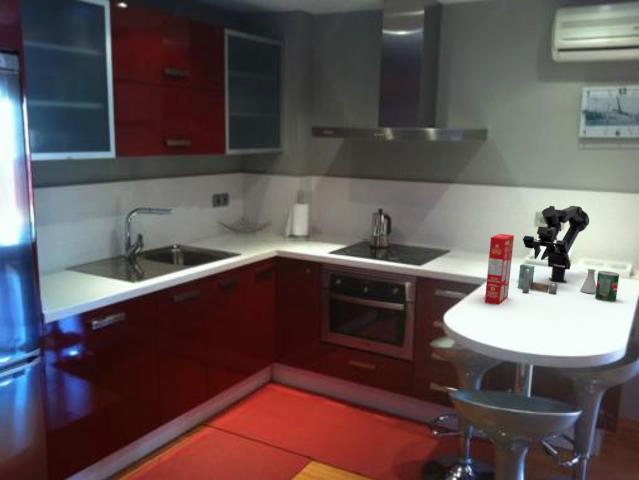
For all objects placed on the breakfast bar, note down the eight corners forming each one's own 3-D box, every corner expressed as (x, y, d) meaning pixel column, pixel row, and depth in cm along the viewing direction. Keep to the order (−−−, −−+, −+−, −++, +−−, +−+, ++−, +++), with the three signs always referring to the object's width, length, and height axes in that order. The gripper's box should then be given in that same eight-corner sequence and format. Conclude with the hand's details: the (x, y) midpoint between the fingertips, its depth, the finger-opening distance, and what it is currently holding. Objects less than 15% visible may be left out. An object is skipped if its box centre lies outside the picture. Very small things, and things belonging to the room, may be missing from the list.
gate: (548, 291, 252) (551, 268, 251) (546, 292, 249) (549, 269, 248) (520, 286, 259) (522, 264, 258) (517, 287, 256) (520, 265, 255)
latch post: (522, 292, 249) (524, 268, 248) (528, 292, 249) (530, 269, 247) (523, 293, 247) (525, 269, 245) (529, 293, 246) (531, 270, 245)
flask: (594, 291, 259) (597, 268, 258) (600, 294, 252) (603, 271, 251) (577, 289, 260) (580, 267, 259) (583, 293, 253) (585, 270, 251)
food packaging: (494, 295, 240) (500, 233, 237) (507, 297, 238) (513, 235, 234) (484, 302, 228) (490, 237, 224) (498, 304, 225) (505, 239, 221)
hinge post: (548, 292, 251) (549, 283, 251) (555, 293, 251) (556, 283, 250) (549, 294, 248) (550, 284, 248) (557, 294, 248) (558, 285, 247)
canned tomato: (618, 302, 239) (621, 275, 238) (597, 300, 241) (600, 273, 239) (613, 298, 247) (616, 272, 245) (592, 296, 249) (595, 270, 247)
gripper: (526, 217, 266) (513, 243, 260) (569, 222, 253) (555, 250, 247) (532, 234, 273) (519, 260, 267) (573, 239, 260) (561, 267, 254)
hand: (538, 259), depth 258 cm, fingers open, 3 cm apart
